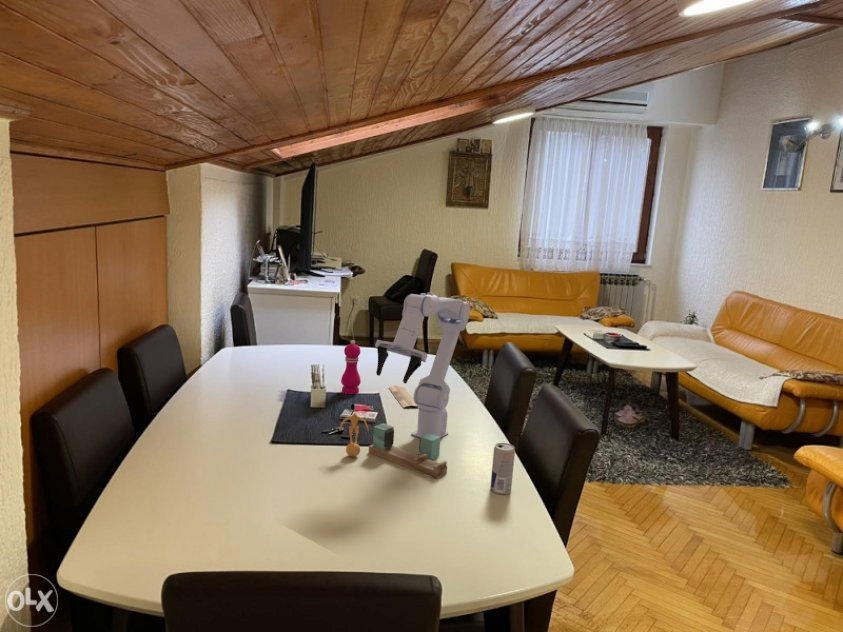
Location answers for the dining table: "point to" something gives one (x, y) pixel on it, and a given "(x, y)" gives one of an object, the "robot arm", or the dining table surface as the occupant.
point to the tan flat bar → (402, 396)
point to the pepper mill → (351, 369)
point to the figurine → (354, 448)
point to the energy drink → (502, 468)
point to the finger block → (430, 446)
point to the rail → (403, 453)
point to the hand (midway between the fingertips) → (391, 378)
